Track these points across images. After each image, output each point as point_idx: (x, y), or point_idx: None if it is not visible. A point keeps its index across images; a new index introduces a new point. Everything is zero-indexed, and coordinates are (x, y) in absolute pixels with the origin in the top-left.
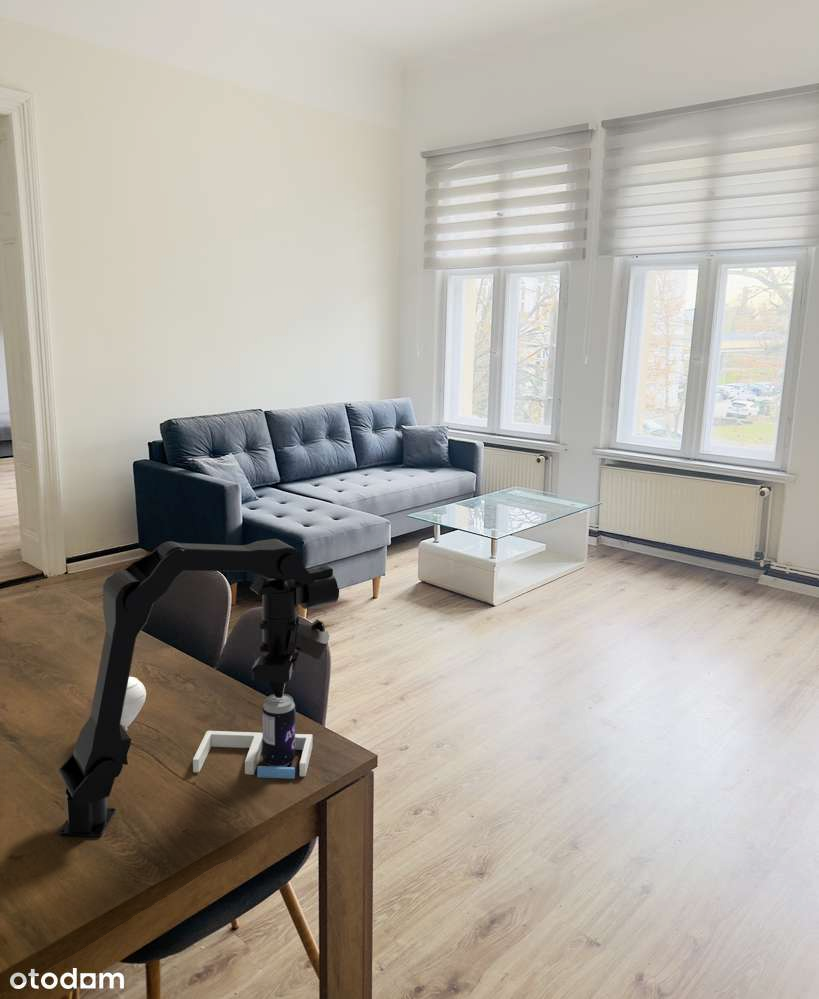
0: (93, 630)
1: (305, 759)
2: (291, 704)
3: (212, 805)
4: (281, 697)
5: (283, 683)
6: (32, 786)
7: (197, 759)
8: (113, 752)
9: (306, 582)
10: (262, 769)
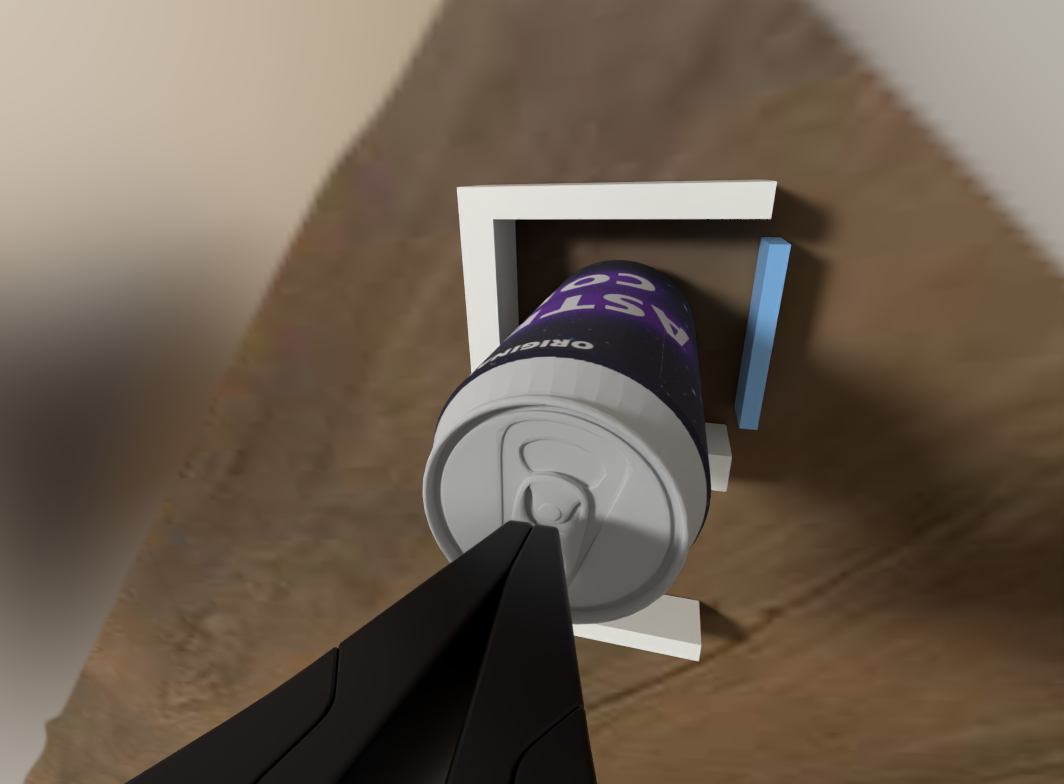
0: (97, 777)
1: (727, 188)
2: (588, 400)
3: (955, 557)
4: (557, 529)
5: (580, 713)
6: None
7: (700, 648)
8: None
9: None
10: (759, 404)
